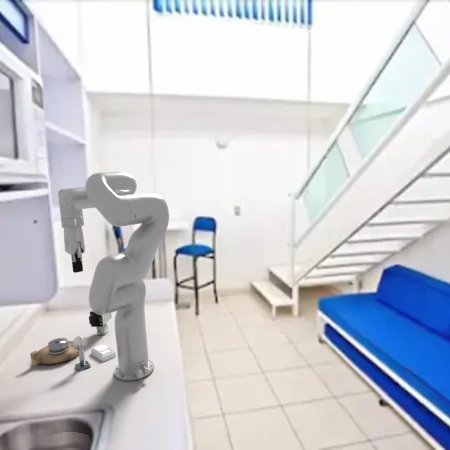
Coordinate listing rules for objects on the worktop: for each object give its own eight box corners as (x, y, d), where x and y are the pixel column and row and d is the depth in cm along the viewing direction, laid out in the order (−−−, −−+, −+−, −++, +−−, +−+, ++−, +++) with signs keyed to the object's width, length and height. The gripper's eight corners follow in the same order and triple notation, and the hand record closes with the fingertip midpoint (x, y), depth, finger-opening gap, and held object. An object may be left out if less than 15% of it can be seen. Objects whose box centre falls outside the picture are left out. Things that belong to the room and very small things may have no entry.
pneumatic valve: (113, 327, 159) (111, 300, 157) (102, 339, 148) (99, 310, 146) (101, 327, 160) (98, 300, 158) (88, 339, 148) (85, 310, 147)
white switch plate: (104, 349, 139) (103, 343, 139) (116, 357, 133) (115, 350, 133) (91, 354, 136) (90, 347, 136) (103, 362, 130) (102, 355, 129)
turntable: (67, 340, 146) (65, 331, 145) (89, 349, 137) (88, 339, 136) (22, 359, 133) (21, 348, 132) (44, 370, 124) (42, 359, 123)
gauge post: (91, 367, 126) (87, 336, 125) (77, 371, 124) (73, 340, 122) (88, 362, 130) (84, 332, 128) (74, 366, 127) (71, 336, 126)
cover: (73, 347, 137) (72, 338, 137) (60, 356, 131) (59, 346, 130) (57, 345, 139) (56, 336, 139) (44, 354, 133) (43, 344, 132)
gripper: (56, 222, 140) (62, 270, 142) (67, 225, 128) (73, 277, 131) (77, 220, 144) (82, 266, 147) (89, 222, 132) (94, 273, 135)
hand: (78, 271), depth 139 cm, fingers closed
